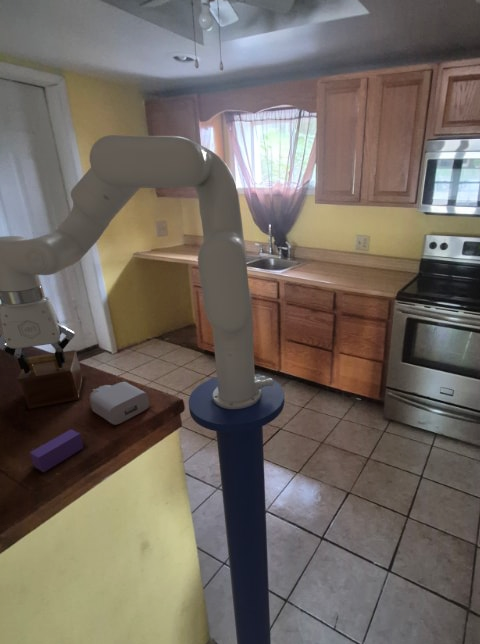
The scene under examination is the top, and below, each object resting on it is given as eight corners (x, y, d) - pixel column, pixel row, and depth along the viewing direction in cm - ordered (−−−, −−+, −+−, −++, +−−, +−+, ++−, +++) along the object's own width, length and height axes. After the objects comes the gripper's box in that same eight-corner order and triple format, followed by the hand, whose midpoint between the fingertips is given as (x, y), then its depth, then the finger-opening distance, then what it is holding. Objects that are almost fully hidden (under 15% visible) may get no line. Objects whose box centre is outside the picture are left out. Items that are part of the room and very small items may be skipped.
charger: (115, 388, 97) (149, 407, 89) (79, 404, 90) (113, 427, 82) (112, 372, 95) (146, 390, 88) (75, 387, 89) (109, 409, 81)
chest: (79, 399, 92) (71, 372, 89) (28, 409, 88) (19, 380, 85) (83, 378, 102) (76, 352, 99) (37, 385, 98) (29, 359, 95)
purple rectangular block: (74, 443, 77) (70, 429, 76) (83, 447, 76) (79, 433, 75) (34, 467, 71) (29, 452, 70) (43, 472, 70) (38, 457, 68)
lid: (71, 373, 89) (66, 356, 87) (18, 382, 85) (12, 364, 83) (76, 352, 99) (72, 336, 97) (29, 359, 95) (24, 343, 93)
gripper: (-33, 305, 74) (-4, 382, 81) (66, 295, 81) (84, 368, 88) (-21, 295, 80) (5, 367, 88) (70, 286, 87) (87, 355, 94)
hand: (44, 367), depth 88 cm, fingers closed on lid, 6 cm apart
